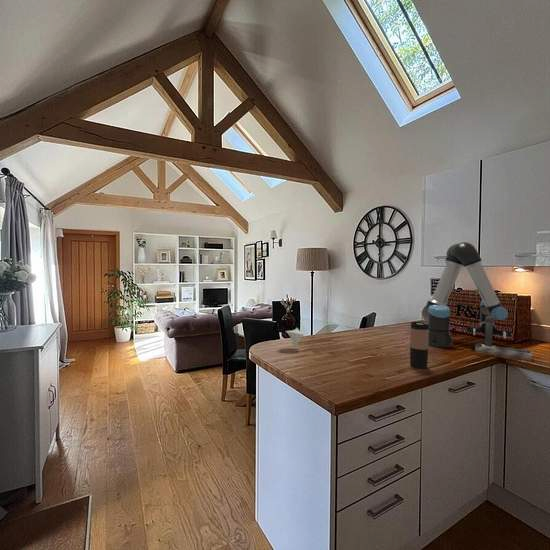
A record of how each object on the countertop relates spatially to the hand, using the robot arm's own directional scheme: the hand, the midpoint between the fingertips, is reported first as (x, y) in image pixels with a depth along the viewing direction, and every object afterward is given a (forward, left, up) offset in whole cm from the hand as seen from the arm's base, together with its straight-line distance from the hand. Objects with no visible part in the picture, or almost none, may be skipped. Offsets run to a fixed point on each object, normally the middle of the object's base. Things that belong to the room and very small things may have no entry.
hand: (489, 334), depth 167 cm
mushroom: (+2, -104, -11) cm, 105 cm away
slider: (-3, +1, -9) cm, 10 cm away
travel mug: (+25, -47, -11) cm, 55 cm away
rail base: (0, +7, -11) cm, 13 cm away
